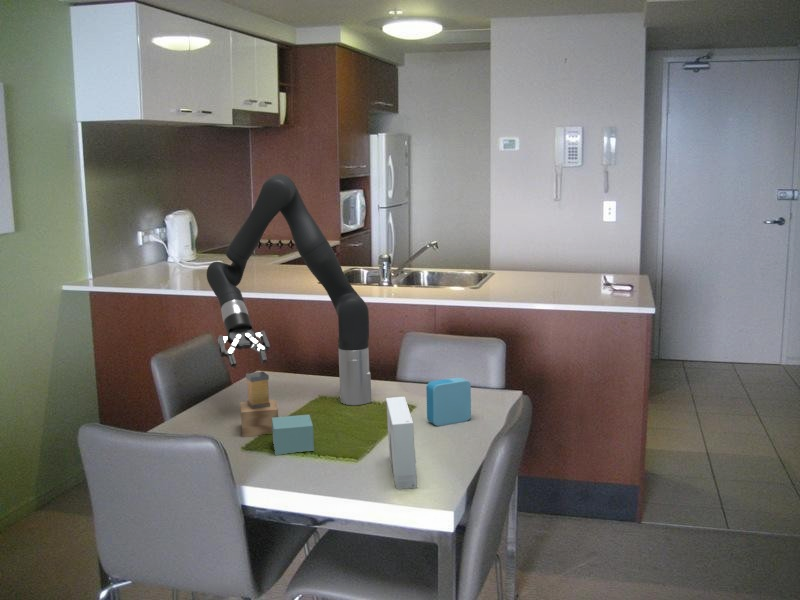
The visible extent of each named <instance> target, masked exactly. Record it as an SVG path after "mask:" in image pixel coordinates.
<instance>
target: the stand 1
mask: <svg viewBox="0 0 800 600" xmlns="http://www.w3.org/2000/svg"><path fill="white" fill-rule="evenodd" d="M269 402H270V407H265V408H259V409H252V408H251V407H249V406H248V404H247V401H240V418H241V420H240V421H241V434H242V435H241V436H242V438H245V437H246V438H247V437H258V435H260V436H262V435H261V434H267V433H273V430H272V418H273V417H279V408H278V404H277V399H269Z"/></svg>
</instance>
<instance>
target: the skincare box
mask: <svg viewBox="0 0 800 600" xmlns="http://www.w3.org/2000/svg"><path fill="white" fill-rule="evenodd" d="M385 401H386V403H385V404H386V419H387V422H386V423H387V436H388V437H387V438H388V451H389V460H390V465H391V468H392V474H393V479H394V484H395V489H396V490H406V489H416V488H418V477H417V467H416V464H417V460H416V449H415V447H416V446H415V431H414V422H413V418H412V415H411V411H410V409H409V406H408V403H407V400H406V396H395V397H393V396H392V397H386V398H385Z"/></svg>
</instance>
